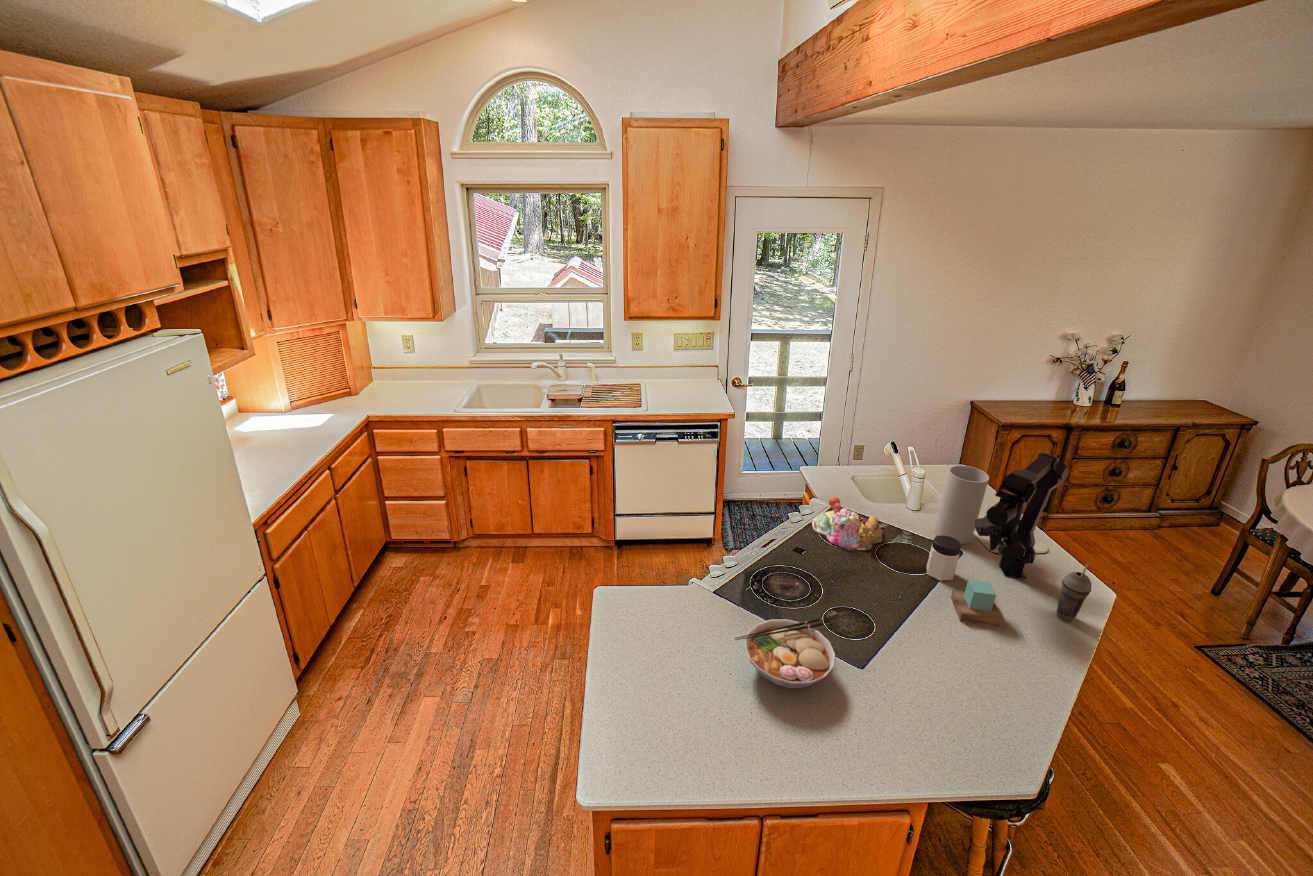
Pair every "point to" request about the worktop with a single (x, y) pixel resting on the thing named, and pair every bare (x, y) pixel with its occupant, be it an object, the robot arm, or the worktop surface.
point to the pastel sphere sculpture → (847, 527)
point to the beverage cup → (1073, 595)
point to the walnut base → (975, 611)
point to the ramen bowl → (789, 652)
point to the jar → (943, 558)
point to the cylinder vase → (961, 503)
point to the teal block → (979, 595)
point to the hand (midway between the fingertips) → (996, 558)
